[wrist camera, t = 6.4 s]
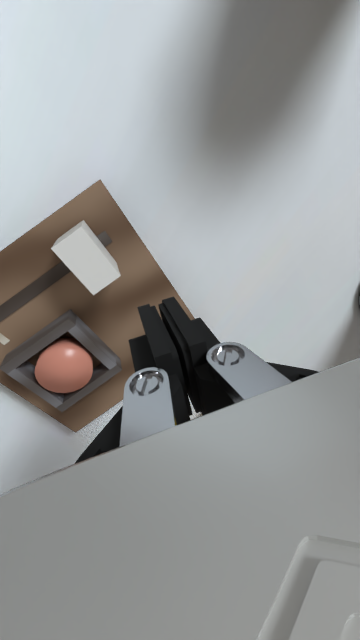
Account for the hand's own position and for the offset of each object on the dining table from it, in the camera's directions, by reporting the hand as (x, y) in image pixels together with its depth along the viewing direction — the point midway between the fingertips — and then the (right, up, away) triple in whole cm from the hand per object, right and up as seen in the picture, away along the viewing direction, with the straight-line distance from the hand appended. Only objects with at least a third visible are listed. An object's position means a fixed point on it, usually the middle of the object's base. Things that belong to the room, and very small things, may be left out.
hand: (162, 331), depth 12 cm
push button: (-10, -3, +13) cm, 16 cm away
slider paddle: (-7, +6, +9) cm, 13 cm away
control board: (-9, 0, +14) cm, 16 cm away
